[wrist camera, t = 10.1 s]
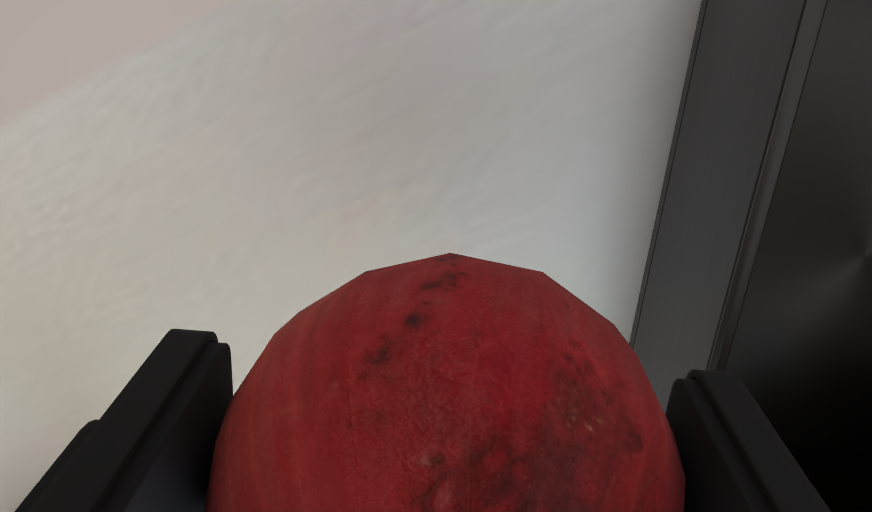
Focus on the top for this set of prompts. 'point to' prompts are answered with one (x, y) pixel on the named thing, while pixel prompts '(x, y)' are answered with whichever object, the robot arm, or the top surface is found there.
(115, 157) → the top surface
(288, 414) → the red round piece
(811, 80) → the black shallow rectangular box
